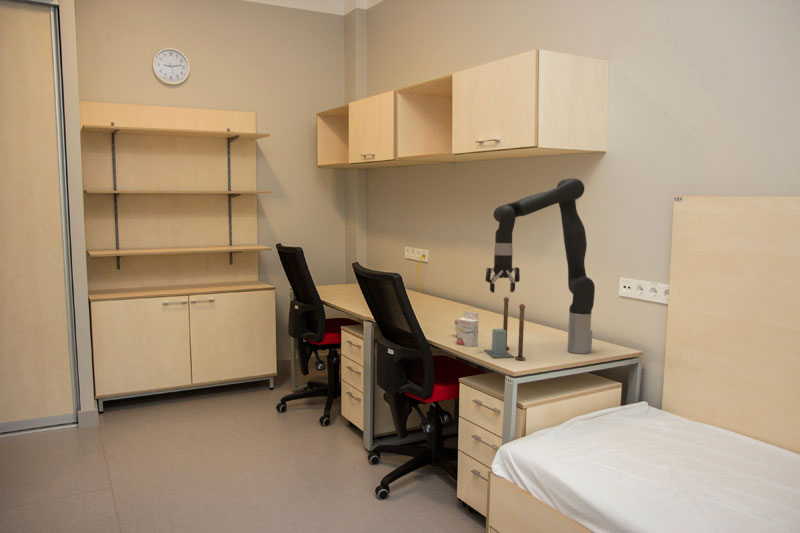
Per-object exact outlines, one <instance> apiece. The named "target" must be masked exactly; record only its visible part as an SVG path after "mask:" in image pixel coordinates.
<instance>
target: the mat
mask: <svg viewBox="0 0 800 533" xmlns="http://www.w3.org/2000/svg"><path fill="white" fill-rule="evenodd" d="M483 352H484V353H485V354H487V355H488V356H489V357H491V358H492V359H515V356H514V355H513V354H511V353H510V352H508V350H506V354H500V355H495V354H494V353H492V349H483Z"/></svg>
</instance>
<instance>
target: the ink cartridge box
mask: <svg viewBox="0 0 800 533" xmlns="http://www.w3.org/2000/svg"><path fill="white" fill-rule="evenodd" d="M457 319H458V329H457V333H456V344H457V345H461V346H466V347H470V348H472V347H476V346H478V342H479V313H478V312H473V311H465V310H464V311H463V317H460V318H457Z"/></svg>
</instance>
